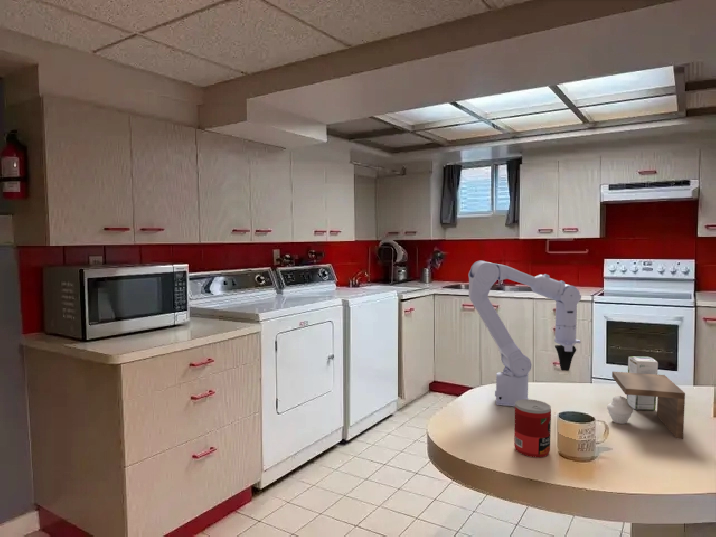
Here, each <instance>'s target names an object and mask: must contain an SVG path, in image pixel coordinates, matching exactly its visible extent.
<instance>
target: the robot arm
mask: <svg viewBox="0 0 716 537" xmlns="http://www.w3.org/2000/svg"><path fill="white" fill-rule="evenodd" d="M467 275H468V298H469V300H470V302H471V303H472V305H473V307H474V308H475V310H476V312H477V314H478V315H479V317H480V319H481V320H482V322H483V324H484V326H485V327H486V328H487V331H488V332H489V334H490V335H491V337H492V338H493V341H494V342H495V344H496V346H497V347H498V351H499V353H500V356H501V360H500V361H501V363H502V364H503V365H504V367H503V370H502V371H499V372H496V376H495V378H496V379H495V380H496V381H495V385H496V387H495V390H494V397H495V404H496V405H497V406H504V407H515V402H516V401H518V400H524V399H530V398H529V373H530V371H531V370H532V361H531V359H530V358H529V357H528V356H527V355H525V354H524V353H523V352H522V350H521V349H520V348H519V346H518V345H517V344H516V342H515V341H514V339H513V338H512V336H511V334H510V332H509V330H508V329H507V327H506V326H505V324H504V322H503V321H502V319H501V317H500V315H499V314H498V312H497V311H496V309H495V307H494V305H493V303H492V302H491V300H490V298H489V293H490V291H491V289H492V287H493V285H494V284H495V283H496V282H497V280H498V281H503V280H511V281H513V282H517V283H520V284H522V285H524V286H525V285H526V286H528V287H530V289H531V291H532V292H533V293H534V294H536V295H539V296H542V297H545V298H546V299H550V300H554V301H556V302H555V328H554V331H555V334H554V343H556V345H554V347H555V350H556V353H557V356H558V361H559V362H558V363H559V367H560V370H561V371H565V372H566V371H567V372H569V371H570V367H571V364H572V362H573V357H574V355H575V354H576V352H577V348H576V346H575V345H577V344H581V340H580V339H577V325H578V324H577V319H578V318H577V317H578V316H577V315H578V314H577V313H578V304H579V302H580V301H581V299H582V295H581V293H580V291H579V289H578V287H577V286H575V285H572V284H571V285H570V284H566V281H564V280H562V279H561V280H558V279H555V278H551V277H550V275H549V274H547V273H544V274H538V275H536V276H533V275H531V274H528V273H525V272H523V271H520V270H518V269H516V268H513V267H511V266H508V265H504V264H498V263H493V262H490V261H485V260H477V261H475V262H474V263H473V264H472V265H471V267H470V270H469V271H468V274H467Z"/></svg>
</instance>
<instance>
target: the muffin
mask: <svg viewBox="0 0 716 537" xmlns="http://www.w3.org/2000/svg"><path fill="white" fill-rule="evenodd" d="M606 410H607V412H608V414H609V417H610V418H611V420H612V421H613V422H614V423H616V424H619V425H620V424H621V425H623V424H627V423H628V421H629V420H630V418H631V417H632V414H633V412H634V408H632V407H631V406H630V405H629V404H628V401H627V397H624V396H621V395H617V396H614V397H613V398H612V400H611V401H610V402H609V403H608V404H607V405H606Z"/></svg>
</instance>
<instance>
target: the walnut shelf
mask: <svg viewBox="0 0 716 537" xmlns="http://www.w3.org/2000/svg"><path fill="white" fill-rule="evenodd" d="M611 376H612V379H613V380H614V381H615V382H616V385H618V387H620V389H621V390H622V392H623V393H624V394H625V395H626V396H627V395H639V396H652V397H656V416H657V418H659V420H660V421H661V422H662V423H663V424H664V426H665V427H666V428H667V429H668V430H669V432H670V433H671V434H672V435H673V436H674V437H675V439H680V440H684V425H685V405H686V393H685V391H683V390H682V389H681V388H680V387H679V386H678V385H677V384H675V382H673V381H672V380H671V379H670V378H669V377H668V376H666V375H665V374H658V373H657V374H642V373H628V371H627V372H626V371H625V372H623V371H612V373H611Z"/></svg>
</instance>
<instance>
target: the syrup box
mask: <svg viewBox="0 0 716 537" xmlns="http://www.w3.org/2000/svg"><path fill="white" fill-rule="evenodd" d="M658 367H659V362H658V361H657V360H656V359H654V358H653V357H650V356H629V355H628V359H627V373H642V374H657V375H658V370H659V369H658ZM626 399H627V401H628V404H629V405H630V406H631V407H632V409H633V410H635V411H656V410H657V397H652V396H639V395H626Z"/></svg>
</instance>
